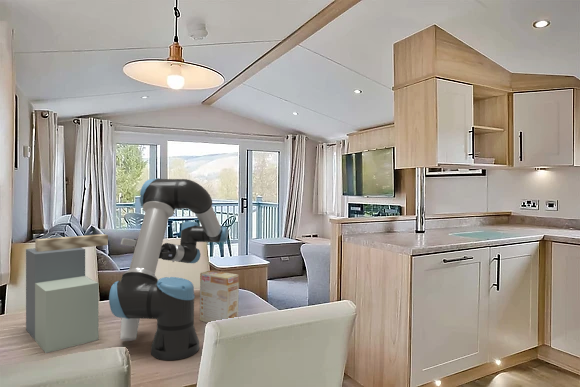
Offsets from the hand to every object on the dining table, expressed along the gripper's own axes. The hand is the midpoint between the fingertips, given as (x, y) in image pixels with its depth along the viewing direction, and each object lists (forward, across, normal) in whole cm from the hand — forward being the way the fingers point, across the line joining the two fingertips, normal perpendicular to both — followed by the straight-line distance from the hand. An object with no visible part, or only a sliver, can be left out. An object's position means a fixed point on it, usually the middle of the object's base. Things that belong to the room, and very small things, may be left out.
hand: (130, 245), depth 158 cm
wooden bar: (+18, +9, -6) cm, 20 cm away
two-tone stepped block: (+17, -3, -35) cm, 39 cm away
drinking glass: (+9, -28, -26) cm, 40 cm away
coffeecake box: (-24, -37, -17) cm, 48 cm away
